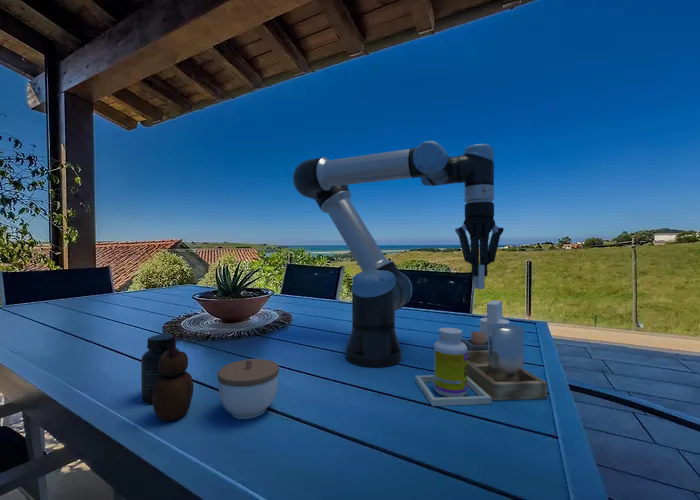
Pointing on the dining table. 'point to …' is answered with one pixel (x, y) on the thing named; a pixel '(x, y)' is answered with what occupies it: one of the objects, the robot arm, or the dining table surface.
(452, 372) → the supplement bottle
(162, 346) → the supplement bottle
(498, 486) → the dining table surface
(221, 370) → the lidded jar
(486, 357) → the wooden tray
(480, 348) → the gray open box
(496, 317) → the cylinder with rectangular tab
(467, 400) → the rectangular frame
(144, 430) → the dining table surface
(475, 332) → the pink block
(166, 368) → the wooden figurine
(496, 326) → the billet
